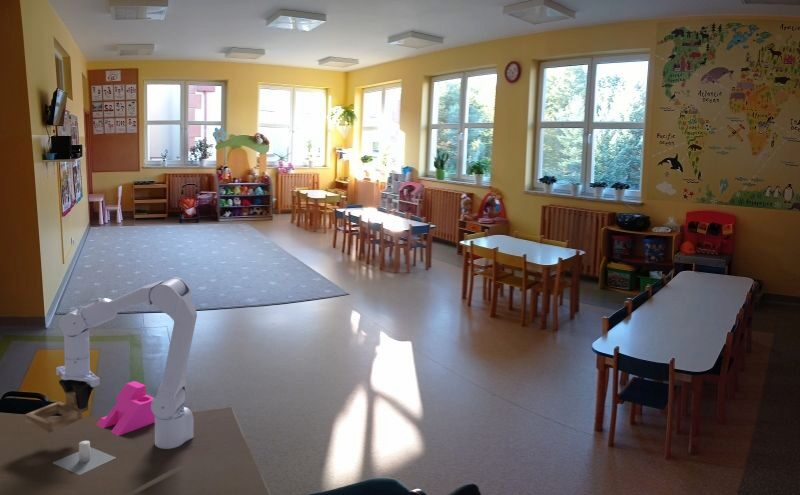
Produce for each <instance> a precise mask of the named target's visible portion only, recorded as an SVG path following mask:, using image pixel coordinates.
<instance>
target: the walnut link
mask: <svg viewBox="0 0 800 495" xmlns="http://www.w3.org/2000/svg"><path fill="white" fill-rule="evenodd" d="M87 411H89V404H88V405H87V407H86V408H84V409H78V406H77V399H76V394H75V391H74V390H72V391H70V392H67V393H66V394H65V402H62V401H60V400H59V401H56V402H53V403H50V404H48V405H45V406H43V407H40V408H38V409H36V410H33V411H31V412H27V413H25V414H24V421H25V422H24V423H25V425H27V426H30V427H32V428H34V429H36V430H39V431H41V432H43V433H46V434H50V433H52V432H55V431H57V430H60V429H62V428H64V427H66V426H68V425H72V424H74V423H76V422H78V421H80V420H82V419H83V413H85V412H87ZM57 414H59V416H57V417H55V418H52V419H47V418H49V417H52V416H54V415H57Z"/></svg>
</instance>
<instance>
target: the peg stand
mask: <svg viewBox="0 0 800 495" xmlns="http://www.w3.org/2000/svg"><path fill="white" fill-rule="evenodd" d="M115 459H117V457H116V456H114V455H111V454H109V453H106V452H104V451H101V450H98V449H96V448H94V447H91V441H90V440H82V441H80V442H78V451H76V452H74V453H72V454H70V455H67V456H65V457H63V458H61V459H58V460H56V461H53V462H52V464H53V465H56V466H58V467H60V468H62V469H64V470H67V471H69V472H72V473H73V474H76V475H78V476H80V475H83V474H85V473H87V472H89V471H91V470H93V469H96V468H98V467H99V466H100V467H101V466H102V465H104V464H107V463H108V462H110V461H112V460H115Z"/></svg>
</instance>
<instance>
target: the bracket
mask: <svg viewBox="0 0 800 495" xmlns="http://www.w3.org/2000/svg"><path fill="white" fill-rule="evenodd" d="M146 389H147V385H145V384H143V383H141V382H138V381H136V380H134V381H130V382H127V383H126V384H125V385H124V386H123V387H122V389H121V391H120V392H119V393H118V394H117V396H116V397H115V399H116V400H117V402H116V403H115V405H114V406H113V408H112V409H111V411H110V412H109V413H108V414H107V415H105V416H103V417H100V418H99V419H98V421H97V423H96V424H95V425H96V426H98V427H100V428H102V429H105V428H108V427H111V426H113V425H114V426H113V429H111V432H110V433H111V434H114V435H116V436H118V437H119V436H122V435H124V434H127V433H130V432H132V431H133V432H134V431H136V430H137V429H140V428H143V427H146V426H148V425H152V424H155V415H154V414H153V412H152V410H151V403H152V401H153V399H154V398H155V397H153V396H151V395H148V394H146V392H147V390H146Z"/></svg>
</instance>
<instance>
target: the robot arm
mask: <svg viewBox="0 0 800 495" xmlns="http://www.w3.org/2000/svg"><path fill="white" fill-rule="evenodd" d="M191 289H192V288H191V287H190V286H189V285H188V283H186V282H185V281H184V279H182V278H180V277H176V276H175V277H169V278H168V279H166V280H165V279H163V280H158V281H155V282H152V283H149V284H146V285H143V286H141V287H140V288H138V289H135V290H133V291H131V292H128V293H126V294H124V295H121V296H120V297H117V298H115V299H111V298H108V297H105V298H102V297H98V298H96V299H93V302H91V303H89V304H87V305H85V306H84V304H83V305H80V306H78V307H77V309H74V310H72V311H70V312H68V313H66V314H64V315H63V316H62V317H61V318H60V320H59V321H58V322H59V325H58V326H59V329H60V331H61V332H62V333H63V337H64V338H63V339H64V340H63V344H64V346H63V347H64V365H61V366H57V367H56V368H55V372H56V373H55V375H56V376H60V378H61V379H59V381H58V384H59V385H60V386H61V388H62V389H63V391H64V394H65V395H66V393H67V392H70V391H72V390H74V391H75V394H76V399H77V406H78V409H84V408H86V407H87V405H88V406H89V400H90V396H91V394H92V391H93V390H94V388H96V387H98V386H100V384H101V382H100V377H98V376H97V375H95V373H93V372H92V371H91V366H90V364H91V363H90V361H91V360H90V359H91V356H90V354H91V353H90V329H92V328H95V327H98V326H99V325H102V324H104V323H106V322H109V321H111V320H115V319H116V317H117V315H118V313H119V312H121V311H124V310H125V309H129V308H130V307H133V306H136V305H138V304H142V303H144V304H146V305H147V306H152V305H153V306H154V307H155V308H156V309H158V310H159V311H161V312H163V313H164V314H166V315H168V317H170V319H172V321H173V325H172V332H171V338H170V343H169V348H168V351H167V356H166V362H165V368H164V372H163V377H162V380H161V383H160V385H159V387H158V389H157V393H156V396H155V397H153V398H154V399H153V401H152V403H151V410H152V412H153V414H154V415H155V423H154V445H155V446H156V448H159V449H164V450H165V449H167V450H168V449H169V450H170V449H174V448H177V447H180V446H182V445H183V444H185V442H188V441H190V440H191V439H193V438H194V431H195V430H194V415H193V412H192V411H191V410H190V409H189V408H188V407H186V406H184V403H185V402H186V401H187V399H188V390H187V380H186V378H185V376H186V371H187V366H188V361H189V357H190V353H191V352H190V351H191V347H192V342H193V336H194V332H195V326H196V321H197V317H198V313H197V310H196V306H195V303H194V301H193V298H192V290H191Z"/></svg>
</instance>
